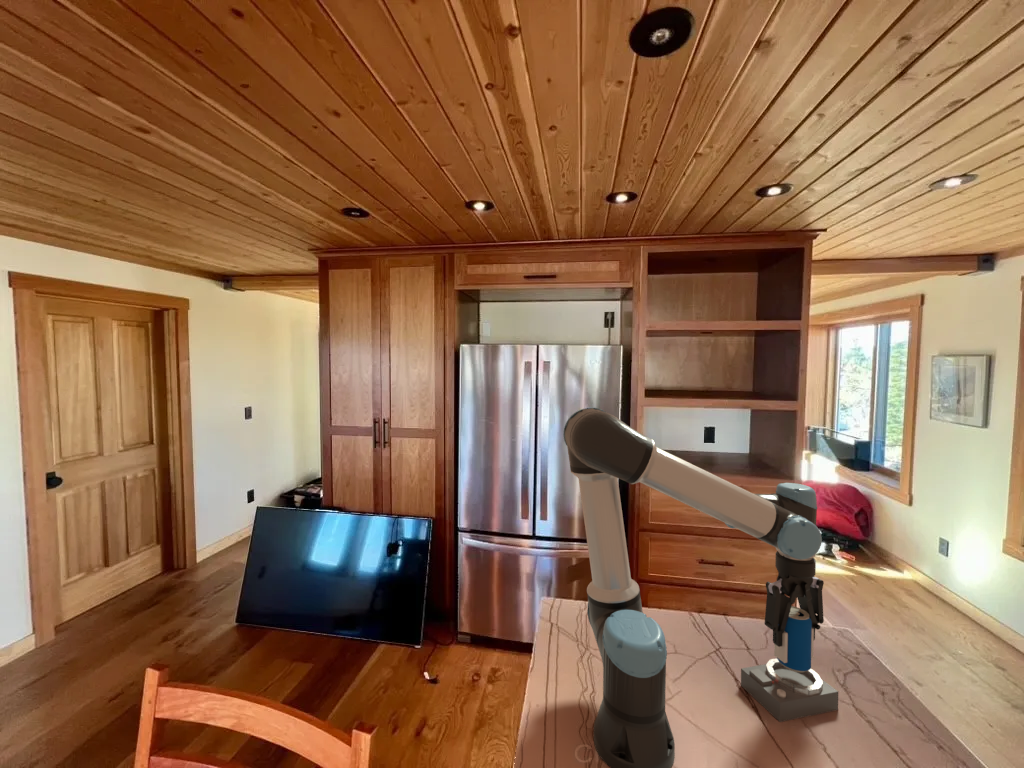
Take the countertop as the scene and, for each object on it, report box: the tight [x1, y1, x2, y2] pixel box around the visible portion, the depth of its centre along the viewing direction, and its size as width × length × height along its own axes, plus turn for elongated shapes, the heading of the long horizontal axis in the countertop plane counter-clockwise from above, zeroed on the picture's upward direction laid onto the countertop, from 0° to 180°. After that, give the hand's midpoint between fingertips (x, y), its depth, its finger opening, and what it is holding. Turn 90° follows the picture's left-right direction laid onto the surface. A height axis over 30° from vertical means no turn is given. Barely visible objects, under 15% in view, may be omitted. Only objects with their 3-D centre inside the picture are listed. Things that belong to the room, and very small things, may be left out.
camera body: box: [740, 663, 839, 723], centre depth 98 cm, size 15×11×5 cm
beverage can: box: [776, 605, 812, 672], centre depth 98 cm, size 6×6×12 cm
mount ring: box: [765, 657, 823, 696], centre depth 98 cm, size 10×10×1 cm
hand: (793, 656), depth 98 cm, fingers closed on beverage can, 6 cm apart
